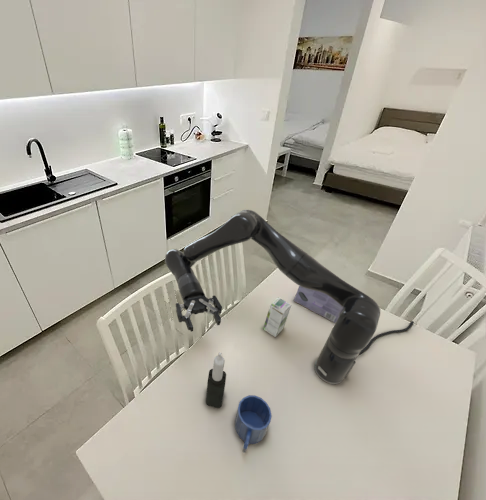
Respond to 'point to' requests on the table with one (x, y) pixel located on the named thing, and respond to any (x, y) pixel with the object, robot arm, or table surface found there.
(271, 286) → the table surface
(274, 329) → the syrup box
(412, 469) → the table surface
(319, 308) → the cake pan box
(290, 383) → the table surface
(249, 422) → the mug
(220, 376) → the candle
